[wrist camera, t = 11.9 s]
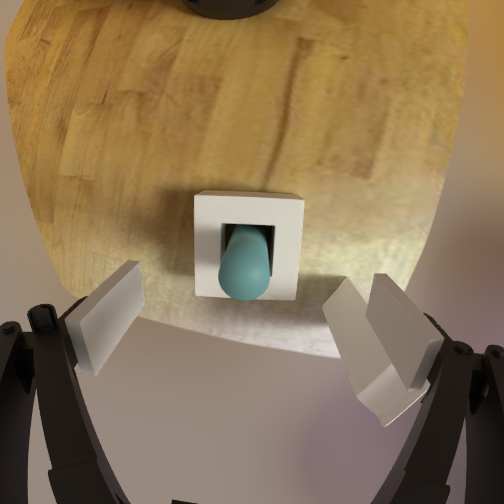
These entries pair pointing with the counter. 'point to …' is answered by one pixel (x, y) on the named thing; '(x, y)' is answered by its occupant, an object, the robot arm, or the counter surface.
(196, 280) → the socket
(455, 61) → the counter surface
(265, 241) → the peg
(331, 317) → the milk
